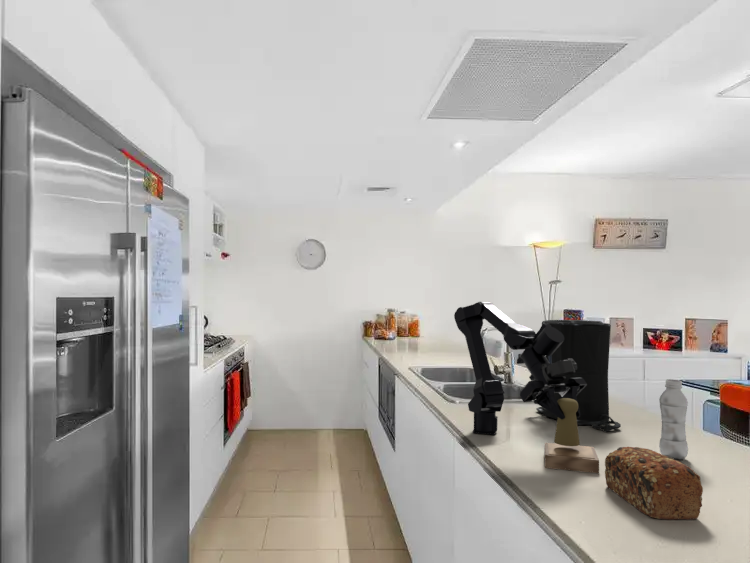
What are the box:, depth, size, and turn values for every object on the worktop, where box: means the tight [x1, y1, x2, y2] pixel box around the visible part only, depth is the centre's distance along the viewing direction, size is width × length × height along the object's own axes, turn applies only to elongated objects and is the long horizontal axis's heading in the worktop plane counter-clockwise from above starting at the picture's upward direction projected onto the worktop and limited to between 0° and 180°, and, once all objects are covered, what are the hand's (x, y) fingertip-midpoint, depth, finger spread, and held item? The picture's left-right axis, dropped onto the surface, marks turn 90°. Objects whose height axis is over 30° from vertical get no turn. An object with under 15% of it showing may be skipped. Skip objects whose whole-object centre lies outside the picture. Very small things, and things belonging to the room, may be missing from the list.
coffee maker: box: [530, 319, 621, 433], centre depth 185 cm, size 23×32×34 cm
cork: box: [553, 398, 581, 446], centre depth 136 cm, size 6×6×11 cm
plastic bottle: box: [658, 378, 689, 460], centre depth 141 cm, size 6×7×20 cm
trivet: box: [543, 442, 600, 474], centre depth 135 cm, size 12×12×3 cm
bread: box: [604, 446, 704, 521], centre depth 110 cm, size 19×11×10 cm, turn 2°
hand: (571, 417), depth 135 cm, fingers closed on cork, 5 cm apart
